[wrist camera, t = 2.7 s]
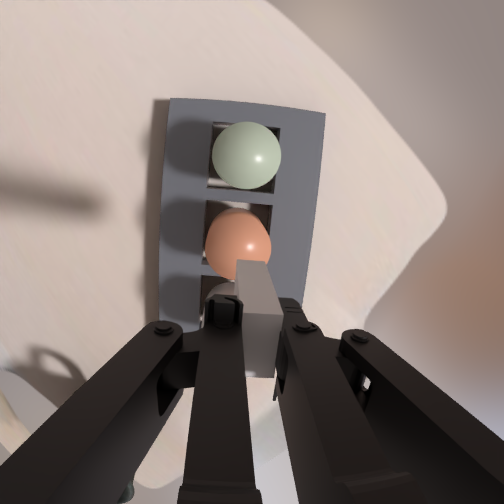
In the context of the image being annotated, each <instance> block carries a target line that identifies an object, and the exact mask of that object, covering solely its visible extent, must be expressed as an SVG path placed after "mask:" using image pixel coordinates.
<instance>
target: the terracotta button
mask: <svg viewBox="0 0 504 504" xmlns="http://www.w3.org/2000/svg"><path fill="white" fill-rule="evenodd" d="M205 254H206V258H207V261H208V263H209V265H210V266H211V268H212V269H213V270H214V271H215V272H216V273H218V274H219V275H220V276H222V277H224V278H227V279H230V280H235V275H236V263H237V259H241V260H254V261H265V263H266V264H267V263H268V261H269V258H270V255H271V241H270V238H269V235H268V233H267V231H266V230H265V228H264V226H263V225H262V223H261V221H260V220H259V218H258V217H257V216H256V215H255V214H254V213H252V212H251V211H249V210H247V209H243V208H230V209H227V210H224V211H222V212H221V213H219V214H218V215H217V216H216V217H215V218H214V220H213V221H212V223H211V225H210V228H209V232H208V235H207V239H206V242H205Z"/></svg>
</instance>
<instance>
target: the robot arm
mask: <svg viewBox="0 0 504 504" xmlns="http://www.w3.org/2000/svg"><path fill="white" fill-rule="evenodd" d="M275 367H276V371H277V378H276V384H275V389H274V395H273V401H276V397H277V396H278V401H279V406H280V411H281V416H282V421H283V426H284V431H285V436H286V441H287V446H288V451H289V456H290V461H291V466H292V471H293V476H294V481H295V485H296V491H297V495H298V501H299V504H504V441H503V440H502V439H501V438H499V437H498V436H497V435H496V434H495V433H494V432H492V431H491V430H490V429H489V428H487V427H486V426H485V425H484V424H482V423H481V422H480V421H479V420H477V419H476V418H475V417H474V416H472V414H470V413H469V412H468V411H467V410H465V409H464V408H463V407H462V406H461V405H459V404H458V403H457V402H456V401H454V400H453V399H452V398H451V397H449V396H448V395H447V394H446V393H444V392H443V391H442V390H441V389H439V388H438V387H437V386H436V385H434V384H433V383H432V382H431V381H430V380H428V379H427V378H426V377H425V376H423V375H422V374H421V373H420V372H418V371H417V370H416V369H415V368H414V367H412V366H411V365H410V364H408V363H407V362H406V361H405V360H404V359H402V358H401V357H400V356H398V355H397V354H396V353H394V351H392V350H391V349H390V348H389V347H387V346H386V345H385V344H384V343H382V342H381V341H380V340H379V339H377V338H376V337H375V336H374V335H372V334H370V333H369V332H366V331H364V330H361V329H360V330H359V329H350V330H346V331H344V332H343V333H342V336H341V340H339V339H333V338H328V337H324V335H323V333H322V331H321V329H320V328H319V327H318V326H317V325H316V324H314V323H311V322H308V320H307V318H306V316H305V314H304V313H303V310H302V309H301V306H300V304H299V302H297V301H296V300H294V299H293V298H283V297H277V294H276V291H275V289H274V286H273V283H272V280H271V277H270V274H269V272H268V269H267V266H266V263H265V261H254V260H241V259H237V263H236V275H235V287H234V295H223V294H214V295H213V296H211V297H210V298H207V299H206V301H205V310H204V326H203V328H201V329H199V330H197V331H193V332H185V333H183V329H182V327H181V326H180V325H179V324H177V323H174V322H171V321H166V320H162V321H161V320H159V321H155V322H151V323H149V324H148V325H146V326H145V327H144V328H143V329H142V330H141V331H140V332H138V333H137V334H136V335H135V336H134V337H133V338H132V339H131V340H130V341H129V342H128V343H127V344H126V345H125V346H124V347H123V348H121V349H120V350H119V351H118V352H117V353H116V354H115V355H114V356H113V357H112V358H111V359H110V360H109V361H108V362H107V363H106V364H105V365H104V366H102V367H101V368H100V369H99V370H98V371H97V372H96V373H95V374H94V375H93V376H92V377H91V378H90V379H89V380H88V381H87V382H86V383H85V384H84V385H83V386H82V387H80V388H79V389H78V390H77V391H76V392H75V393H74V394H73V395H72V396H71V397H70V398H69V399H68V400H67V401H66V402H65V403H64V404H63V405H62V406H61V407H60V408H59V409H58V410H57V411H56V412H55V413H54V414H53V415H52V416H50V418H48V419H47V420H46V421H45V422H44V423H43V425H41V426H40V428H38V429H37V430H36V431H35V432H34V433H33V434H32V435H31V436H30V437H29V438H28V439H27V440H26V441H25V442H24V443H23V444H22V445H21V446H20V447H19V448H18V449H17V450H16V451H15V452H14V453H13V454H12V455H11V456H10V457H9V458H8V459H7V460H6V461H5V462H4V463H3V464H2V465H1V466H0V504H116V503H117V501H118V500H119V498H120V497H121V495H122V493H123V492H124V490H125V488H126V487H127V485H128V484H129V482H130V480H131V479H132V477H133V475H134V474H135V472H136V471H137V469H138V467H139V466H140V464H141V462H142V461H143V459H144V458H145V456H146V454H147V453H148V451H149V449H150V448H151V446H152V444H153V443H154V441H155V439H156V438H157V436H158V434H159V433H160V431H161V430H162V428H163V426H164V425H165V423H166V421H167V420H168V418H169V416H170V415H171V413H172V411H173V410H174V408H175V406H176V405H177V403H178V401H179V400H180V398H181V396H182V395H183V391H184V388H191V387H194V395H193V402H192V410H191V418H190V426H189V434H188V442H187V450H186V459H185V468H184V477H183V484H182V486H180V488H179V493H178V500H177V504H263V503H262V498H261V493H260V490H258V489H256V485H255V476H254V465H253V454H252V443H251V432H250V421H249V410H248V398H247V386H246V377H259V378H274V374H275ZM366 377H367V378H368V379H369V380H370V381H371V383H370V386H369V388H368V389H366V388H365V387H364V386H363V385H364V382H365V379H366Z"/></svg>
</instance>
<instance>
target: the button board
mask: <svg viewBox="0 0 504 504" xmlns="http://www.w3.org/2000/svg"><path fill="white" fill-rule="evenodd" d="M325 116H326V113H320V112H315V111H309V110H302V109H296V108H289V107H281V106H274V105H265V104H256V103H247V102H236V101H223V100H208V99H187V98H170V104H169V113H168V122H167V131H166V142H165V153H164V165H163V178H162V194H161V212H160V238H159V320H161V321H162V320H166V321H171V322H174V323H177V324H179V325H180V326H181V327H182V329H183V333H185V332H193V331H197V330H199V329H201V325H202V322H200V308H201V285H202V275H209V276H220V275H219V274H218V273H216V272H215V271H214V270H213V269H212V268H211V266H210V265H209V263H208V261H207V259H203V247H204V231H205V217H206V203H207V200H219V201H231V202H244V203H255V204H266V205H270V208H269V217H268V227H267V233H268V235H269V238H270V241H271V255H270V258H269V261H268V263H267V264H266V266H267V269H268V272H269V274H270V277H271V280H272V283H273V286H274V289H275V291H276V294H277V297H283V298H293V299H294V300H296V301H297V302H299V304H300V306H301V309H302V303H303V296H304V290H305V284H306V277H307V271H308V264H309V257H310V250H311V243H312V235H313V228H314V220H315V212H316V204H317V196H318V187H319V178H320V169H321V159H322V149H323V139H324V128H325ZM239 122H255V123H258V124H261V125H263V126H264V127H266V128H267V129H270V130H277V138H276V139H277V140H278V143H279V145H280V149H281V162H280V165H279V168H278V170H277V172H276V174H275V175H274V176H273V179H272V188H271V192H263V191H252V190H240V189H228V188H215V187H208V178H209V166H210V155H211V145H212V135H213V125H214V124H216V125H229V126H231V125H233V124H235V123H239Z"/></svg>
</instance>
